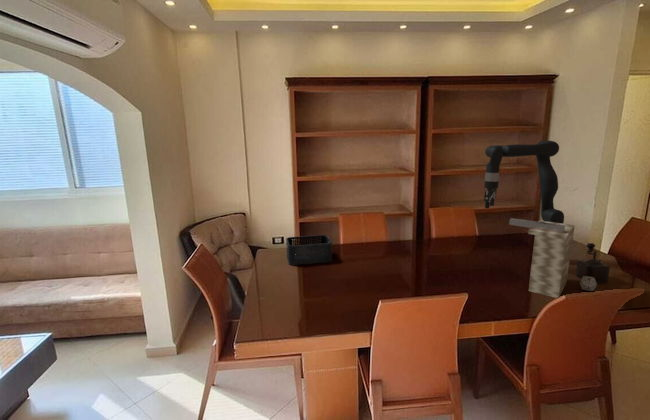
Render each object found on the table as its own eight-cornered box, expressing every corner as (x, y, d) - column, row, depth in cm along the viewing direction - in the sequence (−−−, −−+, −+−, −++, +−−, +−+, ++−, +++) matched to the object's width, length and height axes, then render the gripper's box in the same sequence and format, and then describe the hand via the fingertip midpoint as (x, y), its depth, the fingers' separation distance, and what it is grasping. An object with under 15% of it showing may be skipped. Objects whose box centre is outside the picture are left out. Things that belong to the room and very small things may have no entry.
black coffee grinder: (609, 283, 186) (614, 251, 182) (588, 283, 186) (593, 251, 182) (587, 271, 201) (592, 241, 197) (568, 272, 201) (572, 242, 197)
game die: (581, 296, 180) (570, 277, 183) (597, 290, 179) (586, 272, 183) (589, 295, 172) (578, 275, 175) (606, 289, 171) (595, 270, 174)
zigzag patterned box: (522, 289, 181) (528, 229, 174) (533, 274, 198) (539, 220, 191) (558, 298, 171) (566, 235, 163) (566, 282, 188) (574, 224, 181)
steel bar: (509, 224, 184) (509, 219, 183) (510, 223, 186) (511, 218, 185) (563, 232, 168) (564, 226, 167) (564, 231, 170) (565, 225, 170)
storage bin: (327, 252, 244) (326, 234, 241) (333, 262, 225) (332, 242, 223) (286, 256, 239) (285, 237, 236) (289, 266, 220) (288, 246, 217)
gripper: (494, 182, 197) (492, 209, 201) (502, 179, 208) (499, 205, 211) (480, 181, 202) (478, 208, 206) (489, 178, 212) (486, 204, 216)
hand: (489, 206), depth 208 cm, fingers open, 8 cm apart
